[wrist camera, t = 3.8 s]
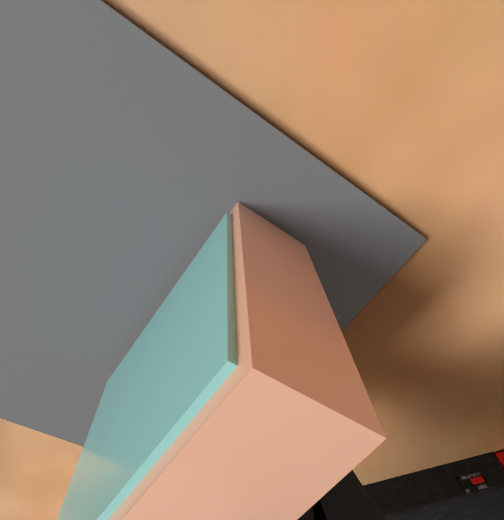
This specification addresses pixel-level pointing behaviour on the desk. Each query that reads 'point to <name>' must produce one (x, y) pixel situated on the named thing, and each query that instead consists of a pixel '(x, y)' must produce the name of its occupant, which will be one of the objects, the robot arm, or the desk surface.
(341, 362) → the block
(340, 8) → the desk surface
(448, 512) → the handheld gaming console
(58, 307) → the mat
